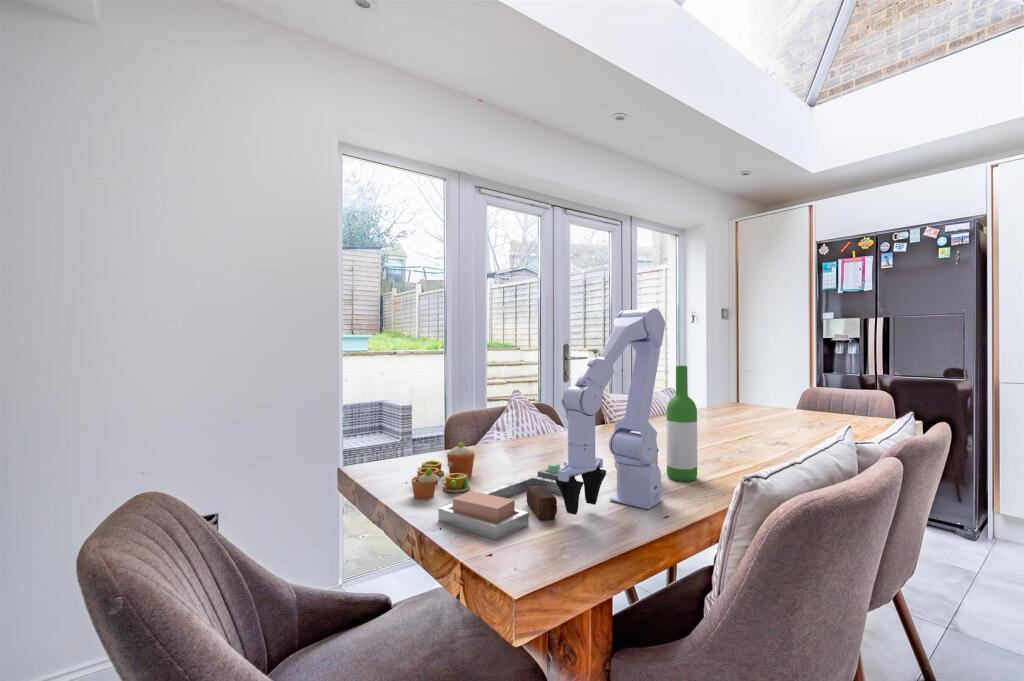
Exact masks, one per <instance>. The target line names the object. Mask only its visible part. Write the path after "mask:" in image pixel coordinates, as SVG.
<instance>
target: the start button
mask: <svg viewBox="0 0 1024 681" xmlns="http://www.w3.org/2000/svg"><path fill="white" fill-rule="evenodd" d="M547 468H548V472H550V473H555V474H556V473H558V471H559V470H560V469H561V464H559V463H554V462H551V463H548V464H547Z"/></svg>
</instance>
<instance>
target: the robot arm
mask: <svg viewBox="0 0 1024 681" xmlns="http://www.w3.org/2000/svg"><path fill="white" fill-rule="evenodd" d="M612 325H613V330H612V333H611V334H610V336H609V338H608V340H607V341H606V344H605V346H604V347H603V349H602V351H601V352H600V354H599V356H598V357H594V358H591V359H589V360H588V362H587V363H586V367H585V368H584V370H583V372H582V373H581V374H580V376H579V377H578V378H577V380H576V381H575V384H574V385H571V386H569V387H567V389H566V390H565V391H564V393H563V396H562V398H561V406H562V408H563V409H564V411H565V418H566V420H567V461H563V467H562V468H560V469H561V470H559V471H558V477H556V484H557V485H558V487H559V489H560V491H561V493H562V495H561V496H562V499H563V503H564V505H565V510H566V513H567V514H570V515H573V516H574V515H578V510H579V503H580V501H579V500H580V495H581V491H582V487H583V489H584V500H585V503H586V504H589V505H594V506H595V505H597V502H598V498H599V493H600V490H601V486H602V483H603V481H604V479H605V477H606V476H607V470H606V469H603V465H604V459H603V458H602V457H601V458H600V457H596V413H598V411H599V410H600V409H601V407H602V402H603V396H604V391H605V389H606V387H607V385H608V384H609V382H610V381H611V379H612V377H613V376H614V374H615V369H614V364H615V363H616V362H617V361H618V359H619V358H620V356H621V355H622V354H623V353H624V351H625V350H626V348H627V347H628V346H629V347H632V348H633V350H634V351H635V357H634V363H633V368H632V375H631V381H630V385H629V390H628V397H627V402H626V408H625V413H624V417H622V418H621V419H620V420H619V421H617V422H616V423H615V424H614V430H613V431H612V433H611V435H610V438H609V440H608V447H609V451H610V453H611V454H612V456H614V461H615V460H617V470H616V495H613V496H611V497H610V498H609V501H610V502H615V503H618V504H624V505H628V506H632V507H637V508H641V509H643V510H644V509H645V510H649V509H651V508H653V507H654V506H656V505H657V504H659V503H661V502H662V501H663V498H662V473H661V472H662V471H661V469H660V467H659V465H658V466H655V465H652V464H650V463H652V461H653V459H654V458H655V456H656V454H657V447H658V443H657V437H658V431H657V430H656V429H655V427H654V426H653V425H652V424H651V423H650V422H649V419H650V412H651V408H652V401H653V396H654V389H655V385H656V384H655V383H656V378H657V372H658V366H659V361H660V360H659V359H660V354H661V349H662V346H663V340H664V335H665V330H666V321H665V318H664V316H663V315H662V312H661V311H660V310H659V309H658V308H655V307H653V308H647V309H646V308H645V309H631V310H627V309H625V310H621V311H619V313H618V314H617V316H616V318H614V320H613V324H612ZM635 432H637V433H635ZM580 475H581V478H582V481H580V480H577V478H576V477H577V476H580Z"/></svg>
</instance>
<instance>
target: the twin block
mask: <svg viewBox="0 0 1024 681" xmlns="http://www.w3.org/2000/svg"><path fill="white" fill-rule="evenodd" d="M515 501H516V500H515V499H512V498H503V497H498V496H493V495H488V494H483V492H479V491H472V490H470V491H466V492H464V493H462V494H461V495H459V496H457V497H456V496H455V497H453V498H452V503H453V510H455V511H458V512H461V513H464V514H467V515H470V516H474V517H477V518H480V519H483V520H486V521H489V522H492V523H498V522H500V521H502V520H505V519H507V518H509V517H511V516H514V515H515V509H516V508H515V507H516V506H515V505H516V504H515Z"/></svg>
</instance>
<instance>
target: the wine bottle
mask: <svg viewBox="0 0 1024 681" xmlns="http://www.w3.org/2000/svg"><path fill="white" fill-rule="evenodd" d="M688 385H689V384H688V366H687V365H676V366H675V395H674V397H671V399H670V400H669V401H668V403H667V405H666V475H667V477H668V479H669V478H670V479H671V480H674V481H678V482H692V481H695V480H697V477H698V408H697V405H696V403H695V401H694V400H693V399H692V398H691V397H689V393H688V392H689V391H688V387H689V386H688Z"/></svg>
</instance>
